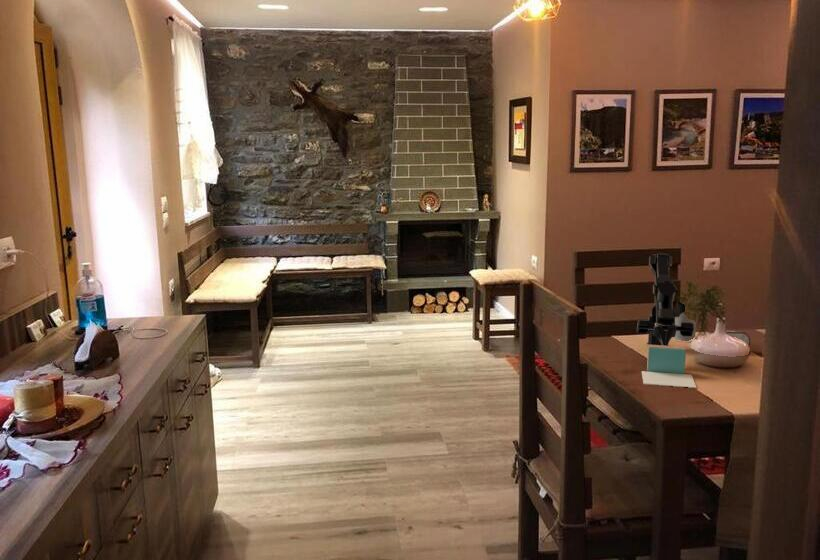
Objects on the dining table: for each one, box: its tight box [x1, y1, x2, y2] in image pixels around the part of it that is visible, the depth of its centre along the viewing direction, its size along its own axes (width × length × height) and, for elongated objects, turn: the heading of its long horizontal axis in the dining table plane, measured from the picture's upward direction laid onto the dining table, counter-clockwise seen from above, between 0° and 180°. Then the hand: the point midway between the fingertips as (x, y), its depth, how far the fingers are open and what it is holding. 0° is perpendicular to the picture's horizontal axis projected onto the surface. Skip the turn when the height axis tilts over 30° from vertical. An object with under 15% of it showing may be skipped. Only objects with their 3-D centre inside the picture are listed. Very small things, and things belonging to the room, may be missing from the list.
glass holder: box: [672, 300, 697, 342], centre depth 272 cm, size 9×14×15 cm, turn 177°
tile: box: [646, 344, 687, 374], centre depth 229 cm, size 4×12×9 cm, turn 74°
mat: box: [641, 370, 697, 389], centre depth 221 cm, size 13×16×1 cm
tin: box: [711, 329, 752, 347], centre depth 252 cm, size 15×3×8 cm, turn 84°
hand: (665, 348), depth 234 cm, fingers closed
